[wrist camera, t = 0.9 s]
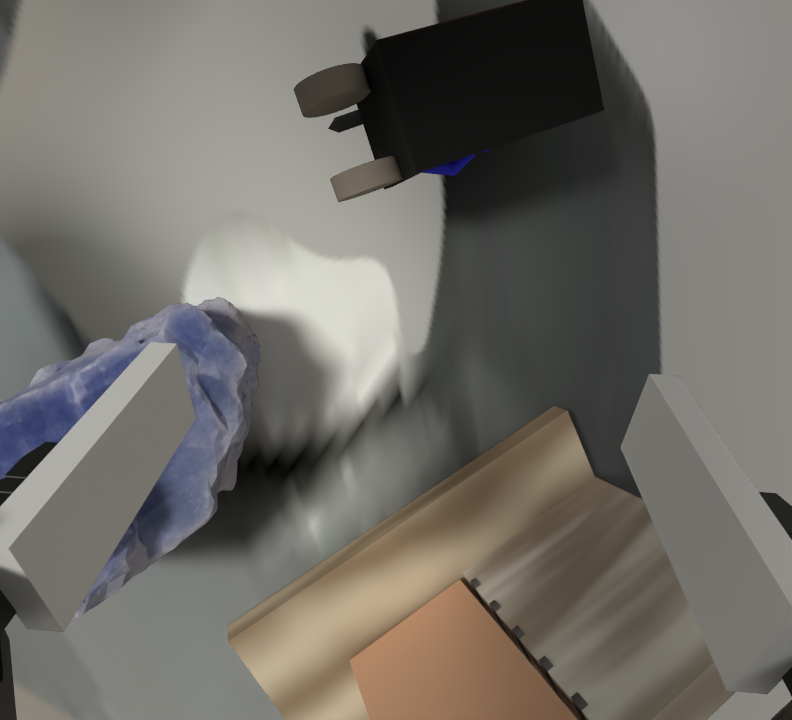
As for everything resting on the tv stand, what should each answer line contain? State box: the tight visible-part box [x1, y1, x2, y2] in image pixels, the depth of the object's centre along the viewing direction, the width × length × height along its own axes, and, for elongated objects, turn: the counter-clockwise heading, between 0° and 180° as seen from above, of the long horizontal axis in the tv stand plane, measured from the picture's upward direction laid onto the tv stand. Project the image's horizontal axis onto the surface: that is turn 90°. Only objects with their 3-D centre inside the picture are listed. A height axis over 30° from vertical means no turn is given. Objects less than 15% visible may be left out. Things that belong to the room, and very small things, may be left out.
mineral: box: [0, 297, 260, 618], centre depth 24 cm, size 15×10×10 cm
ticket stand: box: [228, 406, 736, 720], centre depth 28 cm, size 14×26×16 cm, turn 117°
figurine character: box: [294, 0, 604, 202], centre depth 27 cm, size 7×8×15 cm
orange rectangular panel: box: [349, 579, 578, 720], centre depth 26 cm, size 2×9×14 cm, turn 117°
